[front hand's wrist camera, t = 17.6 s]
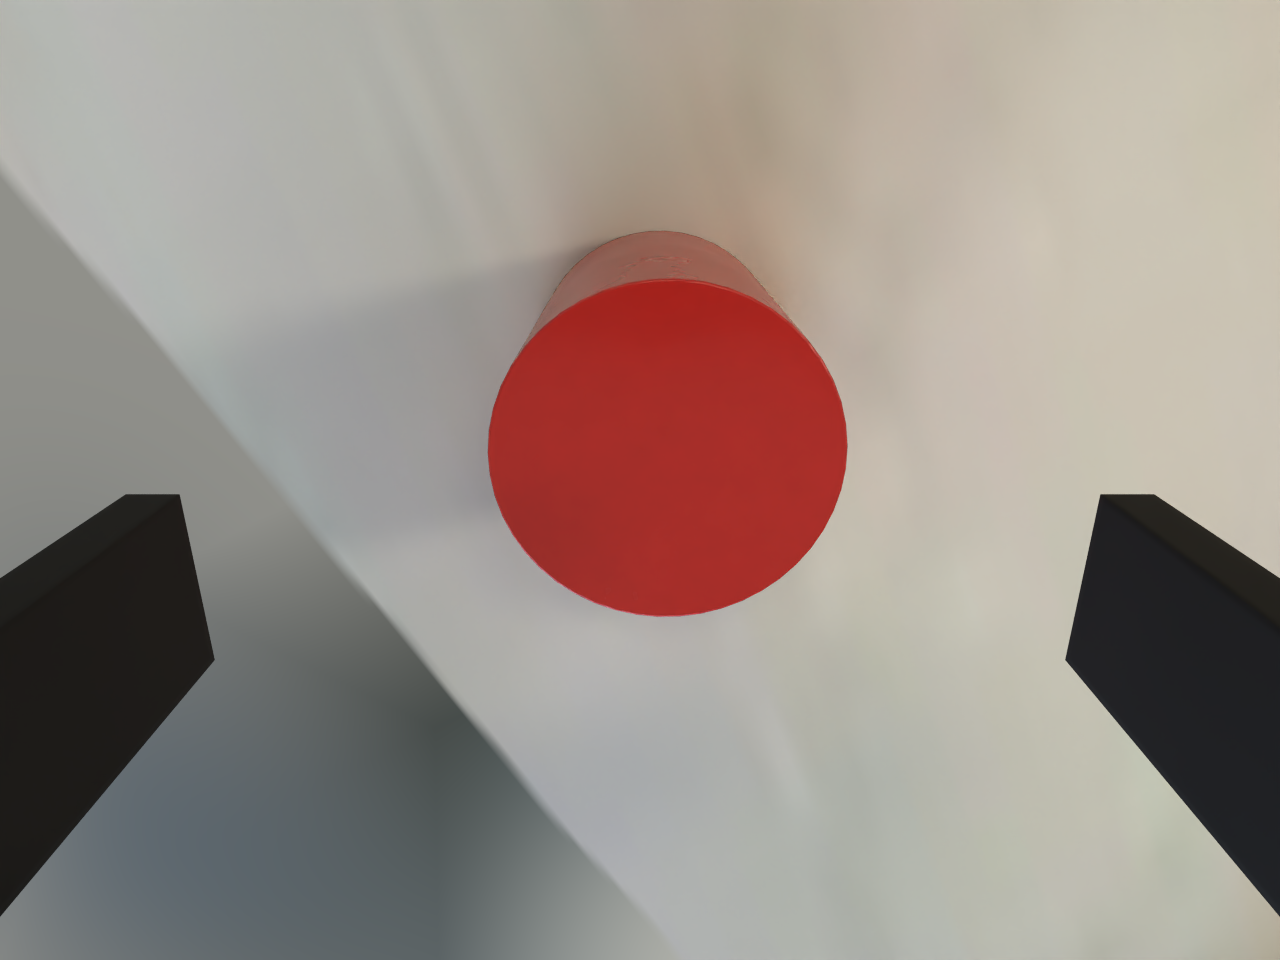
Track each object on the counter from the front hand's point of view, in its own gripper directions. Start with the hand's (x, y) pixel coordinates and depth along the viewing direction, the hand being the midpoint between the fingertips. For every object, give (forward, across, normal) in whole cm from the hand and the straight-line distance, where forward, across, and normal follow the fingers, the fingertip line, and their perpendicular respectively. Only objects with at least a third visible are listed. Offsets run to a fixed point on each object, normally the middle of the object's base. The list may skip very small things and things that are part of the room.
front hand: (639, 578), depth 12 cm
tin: (+16, +1, 0) cm, 16 cm away
